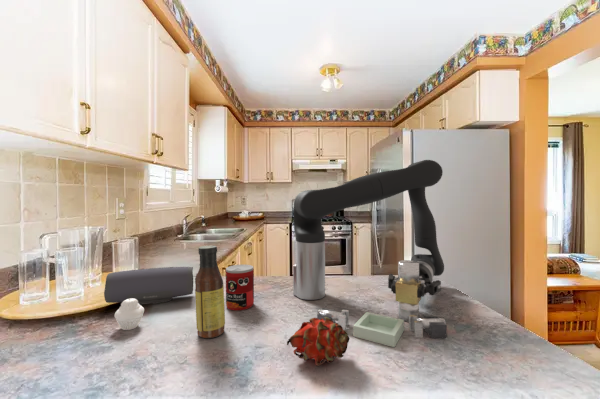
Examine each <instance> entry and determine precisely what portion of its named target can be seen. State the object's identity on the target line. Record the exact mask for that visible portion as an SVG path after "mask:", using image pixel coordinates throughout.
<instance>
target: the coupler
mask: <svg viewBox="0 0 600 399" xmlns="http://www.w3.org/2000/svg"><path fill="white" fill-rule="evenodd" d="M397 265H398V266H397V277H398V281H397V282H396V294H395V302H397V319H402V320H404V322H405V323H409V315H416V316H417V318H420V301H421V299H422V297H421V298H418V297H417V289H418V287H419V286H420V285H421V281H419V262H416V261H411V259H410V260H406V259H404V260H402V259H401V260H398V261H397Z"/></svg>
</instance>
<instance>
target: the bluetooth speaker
mask: <svg viewBox="0 0 600 399" xmlns="http://www.w3.org/2000/svg"><path fill="white" fill-rule="evenodd" d="M193 271H194V266H169V267H168V266H166V267H165V266H164V267H150V268H142V269H139V268H138V269H131V270H120V271H113V272H110V273H109V272H108V273H107V275H106V278H105V284H104V290H103V296H104V302H106V303H109V304H110V303H111V304H115V303H116V304H118V303H120V304H121V303H122V302H123V301H124V300H126V299H129V298H130V299H131V298H134V299H137V300H138V303H139V304H140V305H147V304H156V303H157V304H159V303H165V302H170V301H172V300H173V298H177V297H178V298H179V297H185V296H188V295H192V294H194V273H193Z"/></svg>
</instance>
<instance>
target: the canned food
mask: <svg viewBox="0 0 600 399" xmlns="http://www.w3.org/2000/svg"><path fill="white" fill-rule="evenodd" d="M254 271H255V270H254V266H253V265H251V264H234V265H230V266H227V267H226V268H225V305H226V307H227V309H228V310H230V311H237V312H238V311H244V310H245V311H246V310H249V309H250V308H251V307H252V306H254V302H255V299H254V298H255V290H254V288H255V284H254V282H255V281H254V280H255V278H254V277H255V272H254Z"/></svg>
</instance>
